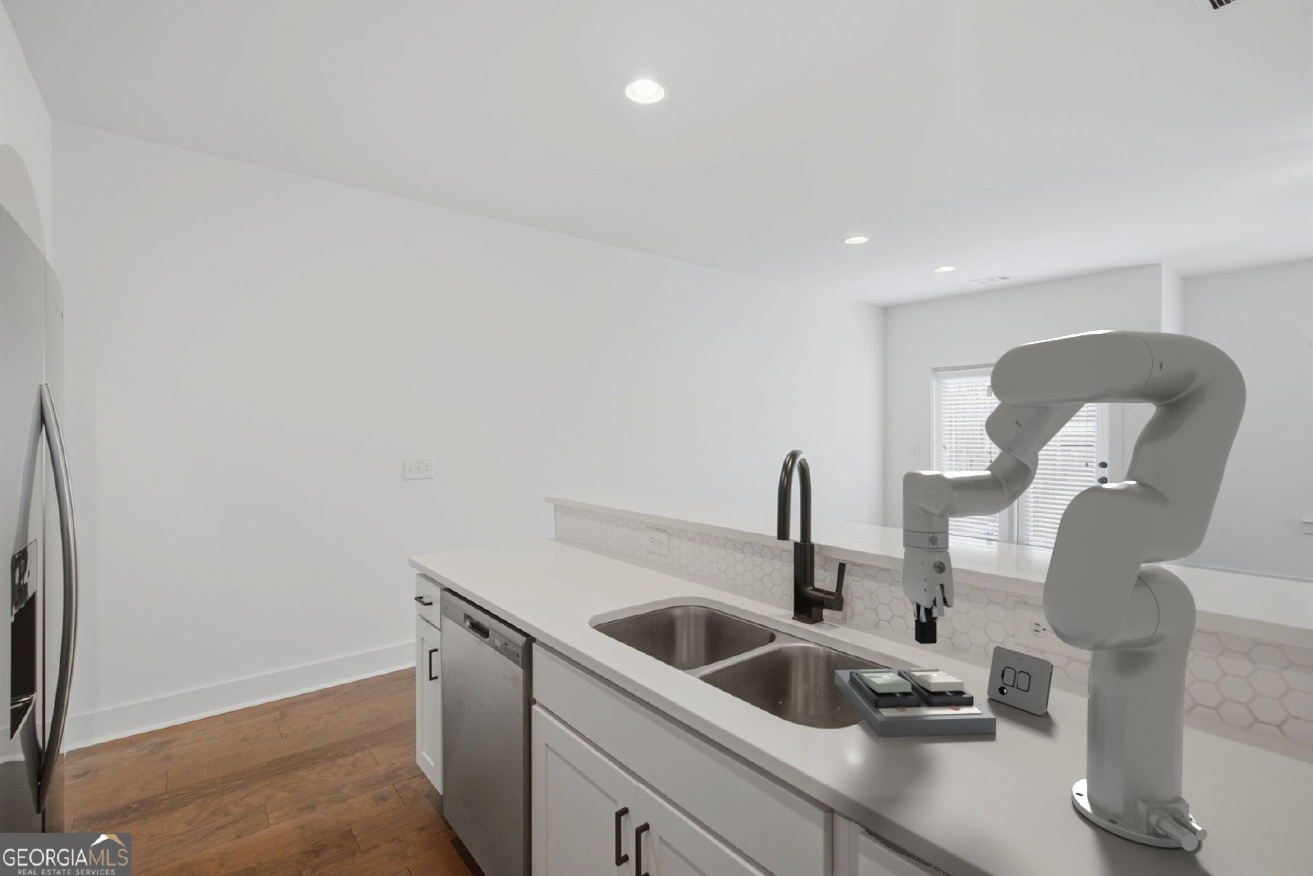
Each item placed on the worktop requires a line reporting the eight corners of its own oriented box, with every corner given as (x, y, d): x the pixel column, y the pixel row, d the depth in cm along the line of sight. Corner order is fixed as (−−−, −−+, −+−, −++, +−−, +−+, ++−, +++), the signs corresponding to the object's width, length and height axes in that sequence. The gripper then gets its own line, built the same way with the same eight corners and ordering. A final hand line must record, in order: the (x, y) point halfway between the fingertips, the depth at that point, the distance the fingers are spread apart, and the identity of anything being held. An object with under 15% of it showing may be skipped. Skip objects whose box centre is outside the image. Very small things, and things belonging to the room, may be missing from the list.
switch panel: (996, 733, 99) (996, 708, 99) (879, 737, 98) (879, 711, 98) (932, 680, 119) (932, 660, 119) (834, 683, 118) (834, 662, 118)
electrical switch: (985, 698, 112) (989, 645, 112) (1000, 693, 115) (1003, 642, 115) (1042, 718, 104) (1045, 662, 104) (1056, 713, 107) (1059, 658, 107)
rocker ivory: (964, 691, 104) (963, 679, 104) (931, 692, 104) (930, 680, 104) (936, 678, 113) (936, 667, 113) (906, 679, 113) (906, 668, 113)
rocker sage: (911, 692, 104) (910, 680, 104) (878, 693, 103) (877, 681, 104) (888, 680, 113) (887, 668, 113) (858, 680, 112) (857, 669, 112)
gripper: (969, 547, 104) (969, 656, 104) (925, 532, 119) (925, 628, 119) (925, 548, 104) (925, 658, 104) (887, 533, 119) (887, 629, 119)
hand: (925, 642), depth 112 cm, fingers closed
